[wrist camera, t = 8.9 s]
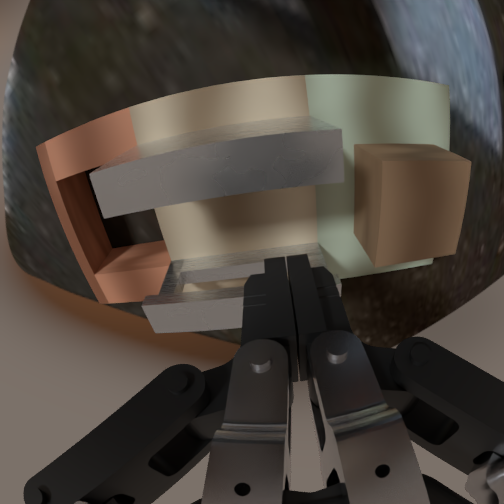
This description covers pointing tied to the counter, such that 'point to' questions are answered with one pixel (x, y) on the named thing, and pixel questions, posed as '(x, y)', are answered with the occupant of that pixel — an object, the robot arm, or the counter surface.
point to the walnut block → (408, 201)
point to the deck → (241, 205)
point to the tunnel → (212, 186)
